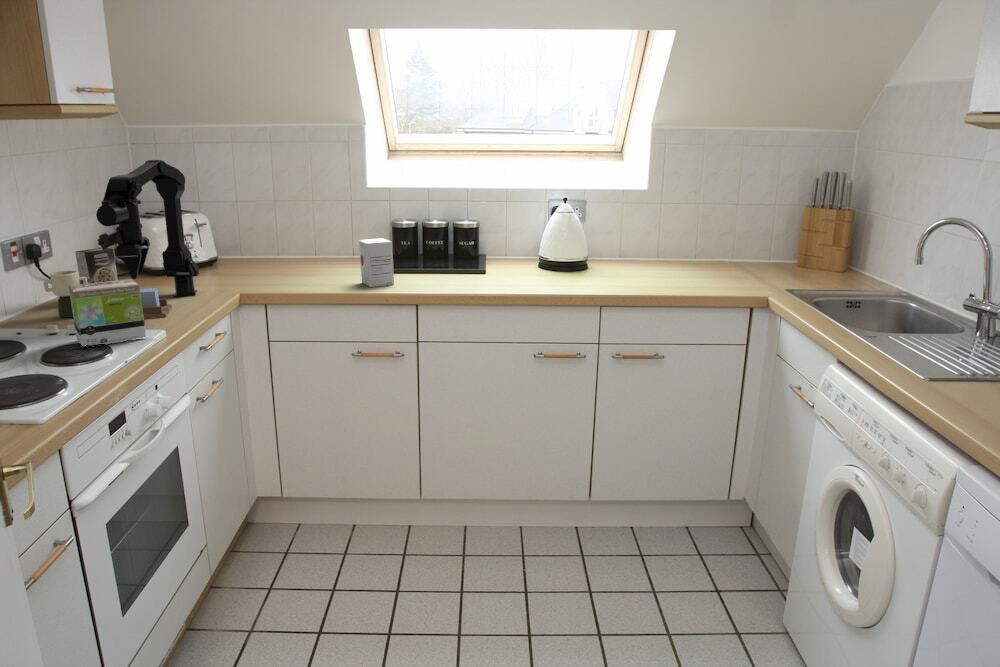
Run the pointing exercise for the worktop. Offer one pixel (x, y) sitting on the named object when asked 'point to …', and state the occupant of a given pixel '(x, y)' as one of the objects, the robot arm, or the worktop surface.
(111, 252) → the coffee box
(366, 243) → the supplement box
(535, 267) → the worktop surface
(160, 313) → the walnut rack
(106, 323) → the tea box
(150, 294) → the pale blue cuboid
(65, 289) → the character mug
